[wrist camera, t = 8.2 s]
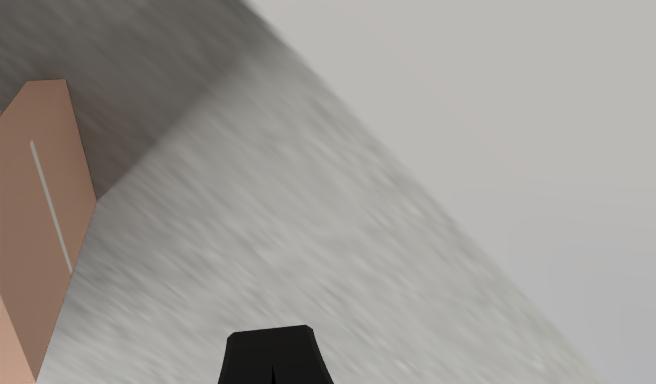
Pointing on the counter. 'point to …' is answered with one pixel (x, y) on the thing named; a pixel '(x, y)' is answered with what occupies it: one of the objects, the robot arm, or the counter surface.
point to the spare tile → (38, 221)
